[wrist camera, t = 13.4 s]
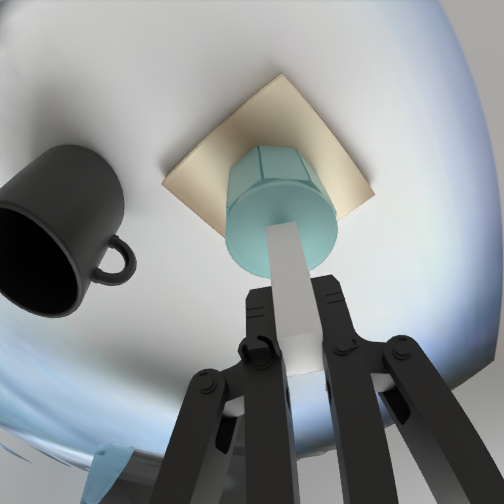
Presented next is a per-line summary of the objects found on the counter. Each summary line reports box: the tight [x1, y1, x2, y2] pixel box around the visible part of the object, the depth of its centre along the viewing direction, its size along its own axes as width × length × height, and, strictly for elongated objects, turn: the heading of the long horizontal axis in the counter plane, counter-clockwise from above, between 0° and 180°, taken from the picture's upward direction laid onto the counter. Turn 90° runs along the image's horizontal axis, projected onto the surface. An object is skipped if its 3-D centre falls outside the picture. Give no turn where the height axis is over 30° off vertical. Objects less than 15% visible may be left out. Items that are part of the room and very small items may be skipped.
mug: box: [0, 145, 137, 318], centre depth 19 cm, size 9×12×9 cm
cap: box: [225, 145, 338, 279], centre depth 18 cm, size 6×6×6 cm
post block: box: [162, 74, 375, 238], centre depth 20 cm, size 11×11×5 cm
